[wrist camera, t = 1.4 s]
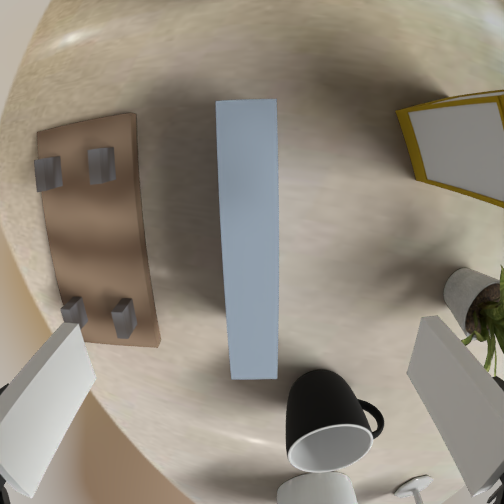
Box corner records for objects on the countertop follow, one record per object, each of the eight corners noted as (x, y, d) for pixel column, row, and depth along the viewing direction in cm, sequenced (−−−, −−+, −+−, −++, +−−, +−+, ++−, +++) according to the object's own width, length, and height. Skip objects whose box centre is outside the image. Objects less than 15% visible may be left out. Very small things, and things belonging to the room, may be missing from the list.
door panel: (228, 116, 27) (215, 100, 18) (269, 114, 27) (276, 99, 17) (237, 317, 33) (231, 379, 24) (271, 316, 33) (277, 378, 24)
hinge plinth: (45, 132, 27) (19, 132, 22) (136, 114, 27) (117, 109, 22) (79, 334, 34) (63, 354, 30) (161, 340, 34) (150, 364, 30)
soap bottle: (345, 125, 27) (561, 104, 5) (449, 97, 25) (645, 88, 3) (369, 197, 29) (565, 317, 7) (467, 161, 28) (655, 215, 5)
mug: (273, 409, 38) (277, 472, 28) (291, 357, 35) (301, 422, 25) (358, 413, 38) (376, 470, 29) (383, 364, 36) (412, 422, 26)
